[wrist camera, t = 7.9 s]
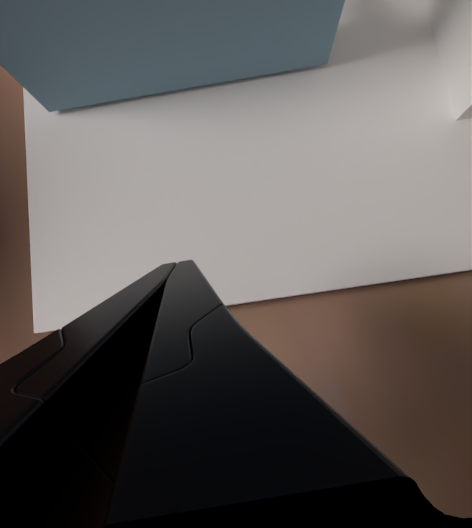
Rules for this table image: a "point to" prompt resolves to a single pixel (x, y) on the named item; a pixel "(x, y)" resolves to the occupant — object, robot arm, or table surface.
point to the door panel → (156, 44)
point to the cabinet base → (266, 172)
